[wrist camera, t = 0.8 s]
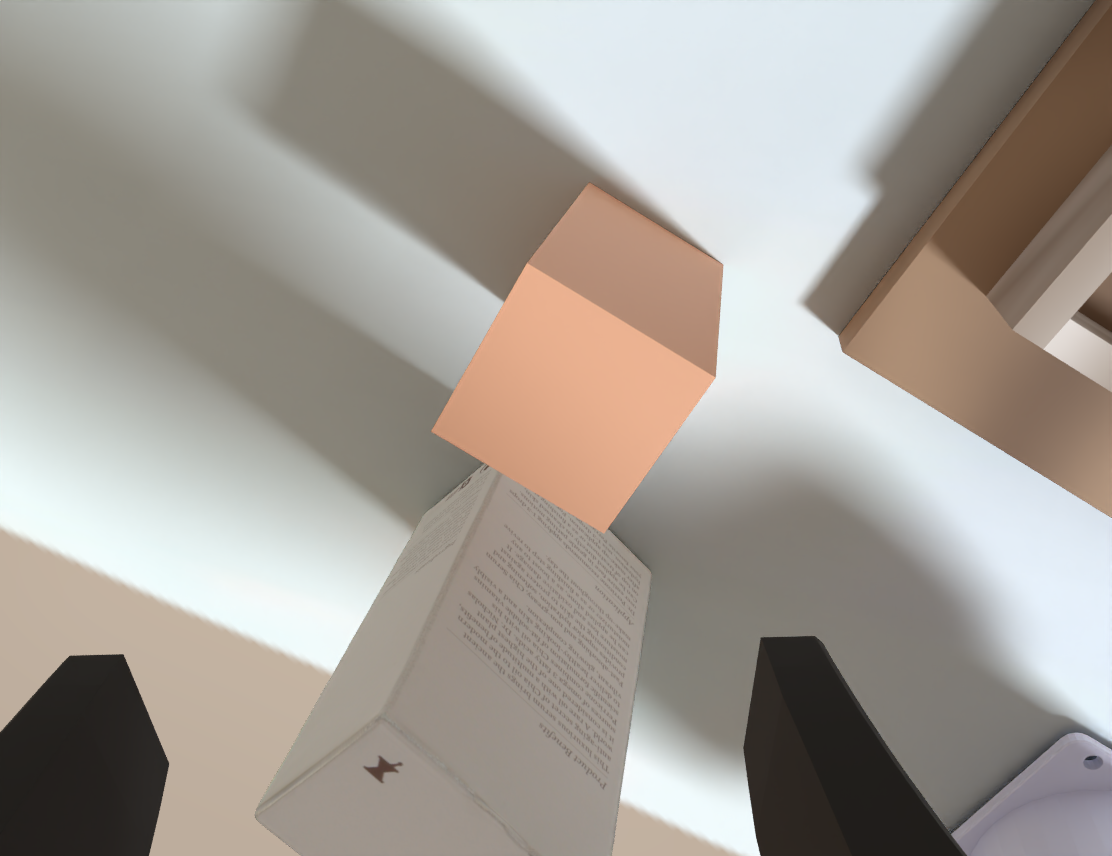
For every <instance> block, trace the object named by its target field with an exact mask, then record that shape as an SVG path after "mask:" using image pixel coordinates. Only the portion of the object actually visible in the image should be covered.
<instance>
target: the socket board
mask: <svg viewBox="0 0 1112 856" xmlns="http://www.w3.org/2000/svg"><path fill="white" fill-rule="evenodd" d="M838 337H839V341H840V344H841V348H842V352H843V353H845V354H847V355H848V356H850V357H851V358H853V359H855V360H856V361H858V362H860V363H861V364H863V365H864V366H866V367H868V368H869V369H871V370H872V371H874V372H876V373H877V374H879V375H881V376H882V377H884V378H885V379H887V380H889V381H890V382H892V383H894V384H895V385H897V386H898V387H900V388H902V389H903V390H905V391H907V392H908V393H910V394H911V395H913V396H915V397H916V398H918V399H920V400H921V401H923V402H924V403H926V404H928V405H929V406H931V407H933V408H934V409H936V410H937V411H939V412H941V413H942V414H944V415H946V416H947V417H949V418H950V419H952V420H954V421H955V422H957V423H958V424H960V425H962V426H963V427H965V428H967V429H968V430H970V431H971V432H973V433H975V434H976V435H978V436H980V437H981V438H983V439H984V440H986V441H988V442H989V443H991V444H993V445H994V446H996V447H997V448H999V449H1001V450H1002V451H1004V452H1006V453H1007V454H1009V455H1010V456H1012V457H1014V458H1015V459H1017V460H1019V461H1020V462H1022V463H1023V464H1025V465H1027V466H1028V467H1030V468H1032V469H1033V470H1035V471H1036V472H1038V473H1040V474H1041V475H1043V476H1044V477H1046V478H1048V479H1049V480H1051V481H1053V482H1054V483H1056V484H1057V485H1059V486H1061V487H1062V488H1064V489H1066V490H1067V491H1069V492H1070V493H1072V494H1074V495H1075V496H1077V497H1079V498H1080V499H1082V500H1083V501H1085V502H1087V503H1088V504H1090V505H1092V506H1093V507H1095V508H1096V509H1098V510H1100V511H1101V512H1103V513H1105V514H1106V515H1108V516H1109V517H1111V518H1112V0H1095V2H1094V3H1093V4H1092V6H1091V7H1090V8H1089V10H1088V11H1087V12H1086V13H1085V15H1084V16H1083V17H1082V19H1081V20H1080V21H1079V23H1078V24H1077V25H1076V27H1075V28H1074V29H1073V30H1072V32H1071V33H1070V34H1069V36H1068V37H1067V38H1066V40H1065V41H1064V42H1063V44H1062V45H1061V46H1060V47H1059V49H1058V50H1057V51H1056V53H1055V54H1054V55H1053V57H1052V58H1051V59H1050V60H1049V62H1048V63H1047V64H1046V66H1045V67H1044V68H1043V70H1042V71H1041V72H1040V74H1039V75H1038V76H1037V77H1036V79H1035V80H1034V81H1033V83H1032V84H1031V85H1030V87H1029V88H1028V89H1027V91H1026V92H1025V93H1024V94H1023V96H1022V97H1021V98H1020V100H1019V101H1018V102H1017V104H1016V105H1015V106H1014V108H1013V109H1012V110H1011V111H1010V113H1009V114H1008V115H1007V117H1006V118H1005V119H1004V121H1003V122H1002V123H1001V125H1000V126H999V127H998V128H997V130H996V131H995V132H994V134H993V135H992V136H991V138H990V139H989V140H988V142H987V143H986V144H985V145H984V147H983V148H982V149H981V151H980V152H979V153H978V155H977V156H976V157H975V158H974V160H973V161H972V162H971V164H970V165H969V166H968V168H967V169H966V170H965V172H964V173H963V174H962V175H961V177H960V178H959V179H958V181H957V182H956V183H955V185H954V186H953V187H952V189H951V190H950V191H949V192H948V194H947V195H946V196H945V198H944V199H943V200H942V202H941V203H940V204H939V206H938V207H937V208H936V209H935V211H934V212H933V213H932V215H931V216H930V217H929V219H928V220H927V221H926V223H925V224H924V225H923V226H922V228H921V229H920V230H919V232H918V233H917V234H916V236H915V237H914V238H913V239H912V241H911V242H910V243H909V245H908V246H907V247H906V249H905V250H904V251H903V253H902V254H901V255H900V256H899V258H898V259H897V260H896V262H895V263H894V264H893V266H892V267H891V268H890V270H889V271H888V272H887V273H886V275H885V276H884V277H883V279H882V280H881V281H880V283H879V284H878V285H877V287H876V288H875V289H874V290H873V292H872V293H871V294H870V296H869V297H868V298H867V300H866V301H865V302H864V304H863V305H862V306H861V307H860V309H859V310H858V311H857V313H856V314H855V315H854V317H853V318H852V319H851V320H850V322H849V323H848V324H847V326H846V327H845V328H844V330H843V331H842V332H841V334H840V335H839V336H838Z"/></svg>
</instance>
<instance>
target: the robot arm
mask: <svg viewBox="0 0 1112 856" xmlns="http://www.w3.org/2000/svg"><path fill="white" fill-rule="evenodd" d="M743 749H744V756H745V763H746V771H747V778H748V785H749V793H750V800H751V806H752V813H753V820H754V826H755V833H756V839H757V843H758V847H759V851H760V855H761V856H1112V750H1111V749H1110V748H1108V747H1106V746H1105V745H1103V744H1101V743H1100V742H1098V741H1096V740H1095V739H1093V738H1091V737H1089V736H1088V735H1085V734H1083V733H1070V734H1067V735H1065V736H1063V737H1062V738H1060V739H1059V740H1058V741H1057V742H1056V743H1055V744H1054V745H1052V746H1051V747H1050V748H1049V749H1048V750H1047V751H1046V752H1044V753H1043V754H1042V755H1041V756H1040V757H1039V758H1038V759H1036V760H1035V761H1034V762H1033V763H1032V764H1031V765H1030V766H1028V767H1027V768H1026V769H1025V770H1024V771H1023V772H1022V773H1020V774H1019V775H1018V776H1017V777H1016V778H1015V779H1014V780H1012V781H1011V782H1010V783H1009V784H1008V785H1007V786H1006V787H1004V788H1003V789H1002V790H1001V791H1000V792H999V793H998V794H996V795H995V796H994V797H993V798H992V799H991V800H990V801H988V802H987V803H986V804H985V805H984V806H983V807H982V808H980V809H979V810H978V811H977V812H976V813H975V814H974V815H972V816H971V817H970V818H969V819H968V820H967V821H966V822H965V823H963V824H962V825H961V826H960V827H959V828H958V829H957V830H955V831H954V832H953V833H952V834H950V833H949V831H948V830H947V829H946V827H945V826H944V825H943V823H942V822H941V821H940V819H939V818H938V817H937V815H936V814H935V812H934V811H933V810H932V808H931V807H930V806H929V804H928V803H927V801H926V800H925V799H924V797H923V796H922V794H921V793H920V792H919V790H918V789H917V788H916V786H915V785H914V783H913V782H912V781H911V779H910V778H909V777H908V775H907V774H906V772H905V771H904V770H903V768H902V767H901V765H900V764H899V762H898V761H897V759H896V758H895V757H894V755H893V754H892V752H891V751H890V749H889V748H888V746H887V745H886V743H885V742H884V740H883V739H882V737H881V736H880V734H879V733H878V731H877V730H876V728H875V727H874V725H873V724H872V722H871V721H870V719H869V718H868V716H867V715H866V713H865V712H864V710H863V708H862V707H861V705H860V704H859V702H858V701H857V699H856V698H855V696H854V694H853V693H852V691H851V690H850V688H849V686H848V685H847V683H846V681H845V680H844V678H843V677H842V675H841V673H840V672H839V670H838V668H837V667H836V665H835V663H834V662H833V660H832V658H831V656H830V655H829V653H828V651H827V650H826V648H825V646H824V644H823V643H822V642H821V641H820V640H819V639H818V638H816V637H815V636H802V637H764V638H761V640H760V647H759V653H758V659H757V666H756V672H755V678H754V685H753V691H752V697H751V704H750V710H749V716H748V723H747V729H746V735H745V742H744V748H743ZM1089 756H1097V757H1096V758H1095V759H1093V760H1085V758H1087V757H1089ZM168 767H169V762H168V760H167V757H166V755H165V753H164V750H163V748H162V745H161V743H160V741H159V738H158V736H157V734H156V731H155V729H154V726H153V724H152V722H151V719H150V717H149V714H148V712H147V710H146V707H145V705H144V702H143V700H142V698H141V695H140V693H139V690H138V688H137V686H136V683H135V681H134V678H133V676H132V674H131V672H130V669H129V666H128V664H127V662H126V659H125V657H124V655H123V654H119V655H85V656H84V655H82V656H69V657H68V658H67V659H66V660H65V661H64V662H63V663H62V664H61V665H60V666H59V668H58V669H57V670H56V671H55V672H54V673H53V674H52V675H51V676H50V677H49V678H48V679H47V681H46V682H45V683H44V684H43V685H42V686H41V687H40V688H39V689H38V691H37V692H36V693H35V694H34V695H33V696H32V697H31V698H30V700H29V701H28V702H27V703H26V704H25V705H24V707H22V709H21V710H20V711H19V712H18V713H17V714H16V715H15V716H14V718H13V719H12V720H11V721H10V722H9V723H8V724H7V725H6V727H5V728H4V729H3V730H2V731H1V732H0V856H149V853H150V849H151V844H152V840H153V836H154V832H155V828H156V823H157V819H158V815H159V810H160V806H161V801H162V796H163V791H164V786H165V782H166V777H167V771H168Z"/></svg>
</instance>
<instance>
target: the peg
mask: <svg viewBox="0 0 1112 856" xmlns="http://www.w3.org/2000/svg"><path fill="white" fill-rule="evenodd" d="M722 277H723V264H721V263H719V262H718V261H716V260H715V259H713V258H711V257H710V256H708V255H706V254H705V253H703V252H702V251H700V250H698V249H697V248H695V247H694V246H692V245H690V244H689V243H687V242H685V241H684V240H682V239H681V238H679V237H677V236H676V235H674V234H673V233H671V232H669V231H668V230H666V229H664V228H663V227H661V226H660V225H658V224H656V223H655V222H653V221H651V220H650V219H648V218H647V217H645V216H643V215H642V214H640V213H639V212H637V211H635V210H634V209H632V208H630V207H629V206H627V205H626V204H624V203H622V202H621V201H619V200H617V199H616V198H614V197H613V196H611V195H609V194H608V193H606V192H605V191H603V190H601V189H600V188H598V187H596V186H595V185H593V184H592V183H590V182H589V183H588V184H587V186H586V187H585V188H584V190H583V191H582V192H581V194H580V195H579V196H578V197H577V199H576V200H575V201H574V203H573V204H572V205H571V206H570V208H569V209H568V210H567V212H566V213H565V214H564V216H563V217H562V218H561V219H560V221H559V222H558V223H557V225H556V226H555V227H554V229H553V230H552V231H551V232H550V234H549V235H548V236H547V238H546V239H545V240H544V241H543V243H542V244H541V245H540V247H539V248H538V249H537V251H536V252H535V253H534V254H533V256H532V257H531V258H530V260H529V261H528V262H527V264H526V266H525V267H524V269H523V271H522V273H521V274H520V276H519V278H518V280H517V281H516V283H515V285H514V287H513V288H512V290H511V292H510V294H509V295H508V297H507V299H506V301H505V302H504V304H503V306H502V308H501V309H500V311H499V313H498V315H497V316H496V318H495V320H494V322H493V323H492V325H491V327H490V329H489V330H488V332H487V334H486V336H485V337H484V339H483V341H482V343H481V344H480V346H479V348H478V350H477V351H476V353H475V355H474V357H473V358H472V360H471V362H470V364H469V365H468V367H467V369H466V371H465V372H464V374H463V376H462V378H461V379H460V381H459V383H458V385H457V386H456V388H455V390H454V392H453V393H452V395H451V397H450V399H449V400H448V402H447V404H446V406H445V407H444V409H443V411H442V413H441V414H440V416H439V418H438V420H437V422H436V423H435V425H434V427H433V429H432V430H431V432H432V433H434V434H436V435H438V436H439V437H441V438H443V439H444V440H446V441H448V442H449V443H451V444H453V445H454V446H456V447H458V448H460V449H461V450H463V451H465V452H466V453H468V454H470V455H471V456H473V457H475V458H476V459H478V460H480V461H482V462H483V463H485V464H487V465H488V466H490V467H492V468H493V469H495V470H497V471H499V472H500V473H502V474H504V475H505V476H507V477H509V478H510V479H512V480H514V481H515V482H517V483H519V484H521V485H522V486H524V487H526V488H527V489H529V490H531V491H532V492H534V493H536V494H537V495H539V496H541V497H543V498H544V499H546V500H548V501H549V502H551V503H553V504H554V505H556V506H558V507H560V508H561V509H563V510H565V511H566V512H568V513H570V514H571V515H573V516H575V517H576V518H578V519H580V520H582V521H583V522H585V523H587V524H588V525H590V526H592V527H593V528H595V529H597V530H598V531H600V532H602V533H605V532H606V530H607V529H608V528H609V526H610V525H611V523H612V522H613V521H614V519H615V518H616V516H617V515H618V514H619V512H620V511H621V509H622V508H623V507H624V505H625V504H626V502H627V501H628V500H629V498H630V497H631V495H632V494H633V493H634V491H635V490H636V488H637V487H638V486H639V484H640V483H641V481H642V480H643V479H644V477H645V476H646V474H647V473H648V471H649V470H650V469H651V467H652V466H653V464H654V463H655V462H656V460H657V459H658V457H659V456H660V455H661V453H662V452H663V450H664V449H665V448H666V446H667V445H668V443H669V442H670V441H671V439H672V438H673V436H674V435H675V434H676V432H677V431H678V429H679V428H680V427H681V425H682V424H683V422H684V421H685V420H686V418H687V417H688V415H689V414H690V413H691V411H692V410H693V408H694V407H695V406H696V404H697V403H698V401H699V400H700V399H701V397H702V396H703V394H704V393H705V392H706V390H707V389H708V387H709V386H710V385H711V383H712V382H713V380H714V379H715V378H716V364H717V349H718V335H719V320H720V306H721V291H722Z"/></svg>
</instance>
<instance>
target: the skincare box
mask: <svg viewBox="0 0 1112 856" xmlns="http://www.w3.org/2000/svg"><path fill="white" fill-rule="evenodd" d="M651 581H652V573H651V571H650V570H649V569H648V568H647V567H646V566H645V565H644V564H643V563H642V562H641V561H640V560H639V559H638V558H637V557H636V556H635V555H634V554H633V553H632V552H631V551H630V550H629V549H628V548H627V547H626V546H625V545H624V544H623V543H622V542H621V541H620V540H619V539H618V538H617V537H616V536H615V535H614V534H613V533H612V532H611V531H610V530H609V529H607V530H606V532H605V533H602V532H600V531H598V530H597V529H595V528H593V527H592V526H590V525H588V524H587V523H585V522H583V521H582V520H580V519H578V518H576V517H575V516H573V515H571V514H570V513H568V512H566V511H565V510H563V509H561V508H560V507H558V506H556V505H554V504H553V503H551V502H549V501H548V500H546V499H544V498H543V497H541V496H539V495H537V494H536V493H534V492H532V491H531V490H529V489H527V488H526V487H524V486H522V485H521V484H519V483H517V482H515V481H514V480H512V479H510V478H509V477H507V476H505V475H504V474H502V473H500V472H499V471H497V470H495V469H493V468H492V467H490V466H488V465H487V464H483V465H482V466H481V467H480V468H478V469H477V470H476V471H475V472H474V473H472V474H471V475H470V476H469V477H468V478H467V479H465V480H464V481H463V482H462V483H461V484H460V485H459V486H457V487H456V488H455V489H454V490H453V491H452V492H450V493H449V494H448V495H447V496H446V497H444V498H443V499H442V500H441V501H440V502H438V503H437V504H436V505H435V506H433V507H432V508H431V509H429V510H428V511H427V512H426V513H425V514H424V515H423V517H422V518H421V520H420V522H419V524H418V525H417V527H416V529H415V531H414V533H413V534H412V536H411V538H410V540H409V541H408V543H407V545H406V546H405V548H404V550H403V552H402V553H401V555H400V557H399V558H398V560H397V562H396V564H395V565H394V567H393V569H392V571H391V573H390V574H389V576H388V578H387V580H386V581H385V583H384V585H383V587H382V588H381V590H380V592H379V594H378V595H377V597H376V599H375V601H374V602H373V604H372V606H371V608H370V609H369V611H368V613H367V615H366V617H365V618H364V620H363V622H362V623H361V625H360V627H359V629H358V630H357V632H356V634H355V636H354V637H353V639H352V641H351V643H350V644H349V646H348V648H347V650H346V652H345V654H344V655H343V657H342V659H341V660H340V662H339V664H338V666H337V668H336V669H335V671H334V673H333V675H332V677H331V678H330V680H329V681H328V683H327V685H326V686H325V688H324V690H323V692H322V693H321V696H320V697H319V699H318V701H317V702H316V704H315V706H314V708H313V710H312V711H311V713H310V715H309V717H308V718H307V720H306V722H305V723H304V725H303V727H302V729H301V731H300V733H299V735H298V736H297V738H296V740H295V742H294V743H293V745H292V747H291V749H290V751H289V752H288V754H287V756H286V757H285V759H284V761H283V763H282V764H281V766H280V768H279V769H278V771H277V773H276V774H275V776H274V778H273V780H272V781H271V783H270V785H269V786H268V788H267V790H266V792H265V794H264V796H263V797H262V799H261V801H260V803H259V805H258V807H257V809H256V811H255V818H256V820H257V821H258V822H259V823H260V824H262V825H263V826H264V827H265V828H267V829H268V830H269V831H270V832H272V833H273V834H274V835H276V836H277V837H278V838H279V839H281V840H282V841H283V842H285V843H286V844H287V845H288V846H289V847H291V848H292V849H293V850H294V851H296V852H297V853H298V854H299V855H301V856H612V850H613V844H614V837H615V830H616V822H617V814H618V808H619V801H620V794H621V787H622V780H623V773H624V766H625V759H626V752H627V746H628V740H629V733H630V726H631V719H632V712H633V705H634V698H635V691H636V685H637V678H638V671H639V664H640V657H641V651H642V644H643V637H644V631H645V623H646V617H647V609H648V603H649V596H650V589H651Z"/></svg>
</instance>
